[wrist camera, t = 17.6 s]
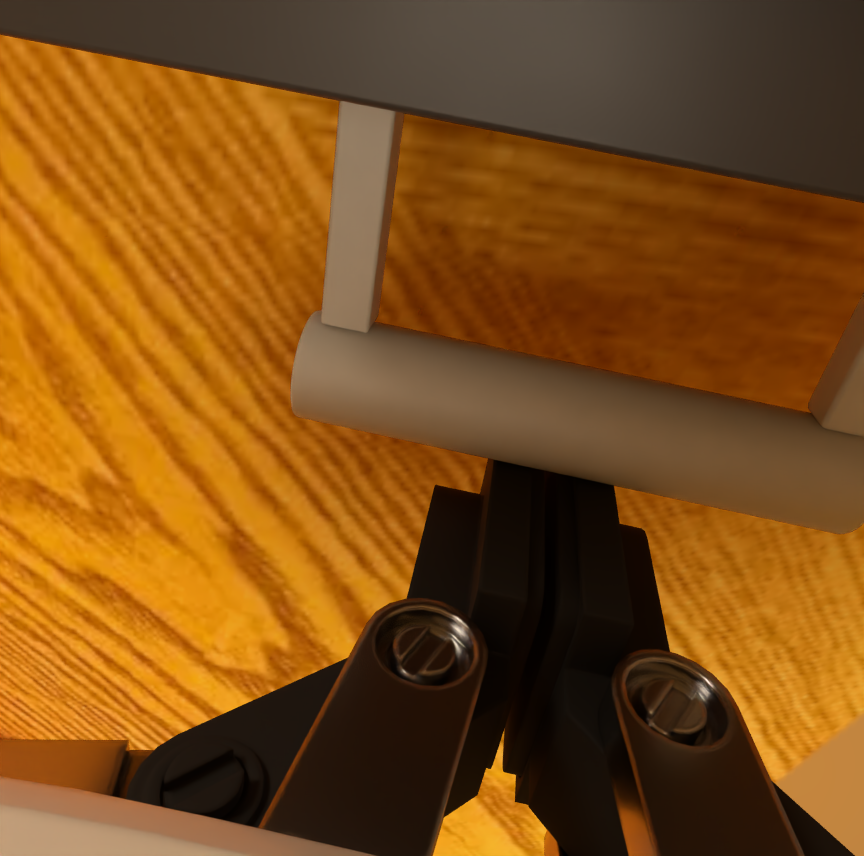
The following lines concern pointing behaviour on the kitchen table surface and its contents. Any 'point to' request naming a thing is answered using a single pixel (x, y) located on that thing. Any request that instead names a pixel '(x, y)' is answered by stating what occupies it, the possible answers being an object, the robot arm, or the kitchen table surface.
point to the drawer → (565, 124)
